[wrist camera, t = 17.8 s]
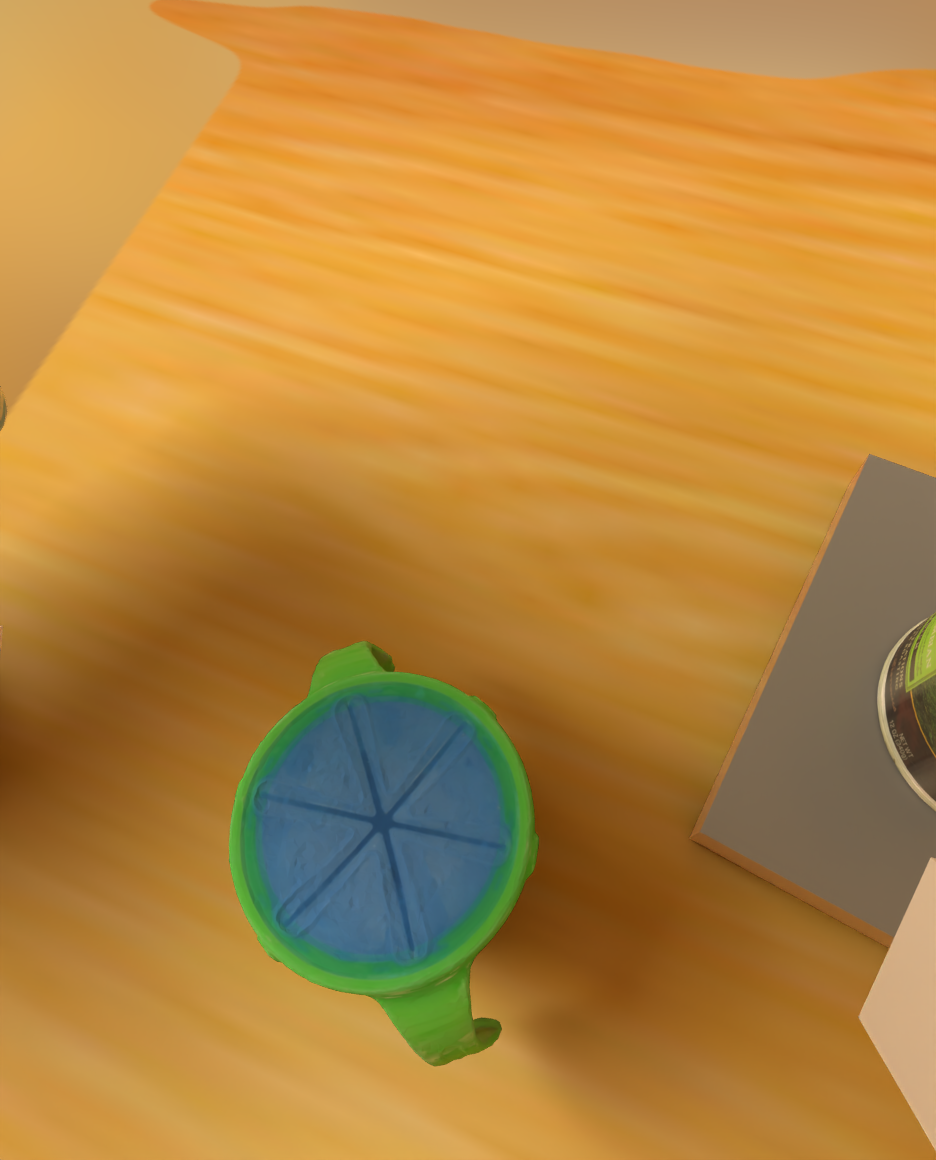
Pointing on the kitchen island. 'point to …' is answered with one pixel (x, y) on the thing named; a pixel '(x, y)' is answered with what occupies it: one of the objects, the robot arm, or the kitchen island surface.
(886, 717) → the coffee can
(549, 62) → the kitchen island surface
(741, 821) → the slate plinth
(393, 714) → the snack cup
